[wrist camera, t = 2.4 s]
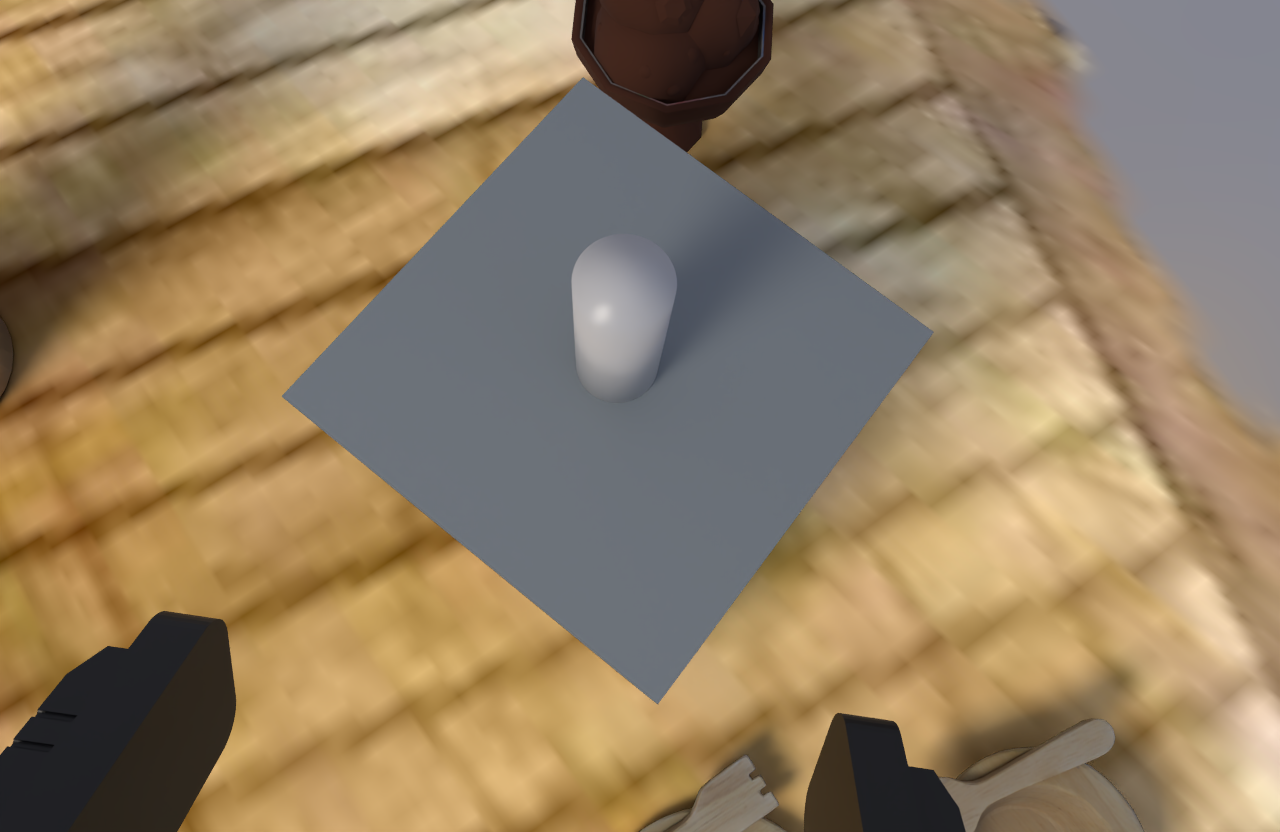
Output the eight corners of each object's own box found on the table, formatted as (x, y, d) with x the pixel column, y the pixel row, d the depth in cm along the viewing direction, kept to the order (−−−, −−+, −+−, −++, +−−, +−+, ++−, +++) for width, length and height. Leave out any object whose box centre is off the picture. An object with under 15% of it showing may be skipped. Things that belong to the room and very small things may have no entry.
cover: (383, 480, 51) (191, 322, 26) (585, 251, 55) (580, -68, 31) (634, 686, 49) (679, 721, 24) (825, 432, 53) (1026, 245, 28)
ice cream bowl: (635, 229, 56) (651, 80, 41) (543, 90, 58) (527, -99, 43) (777, 152, 57) (841, -17, 43) (683, 20, 60) (714, -184, 45)
